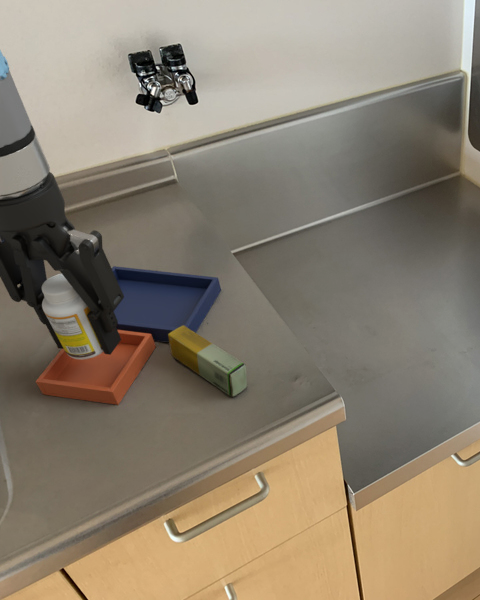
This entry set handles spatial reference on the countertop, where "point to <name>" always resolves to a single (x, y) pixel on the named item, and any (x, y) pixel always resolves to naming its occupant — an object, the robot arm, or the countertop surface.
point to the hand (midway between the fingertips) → (89, 343)
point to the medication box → (208, 361)
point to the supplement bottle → (69, 318)
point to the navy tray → (163, 301)
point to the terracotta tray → (98, 371)
